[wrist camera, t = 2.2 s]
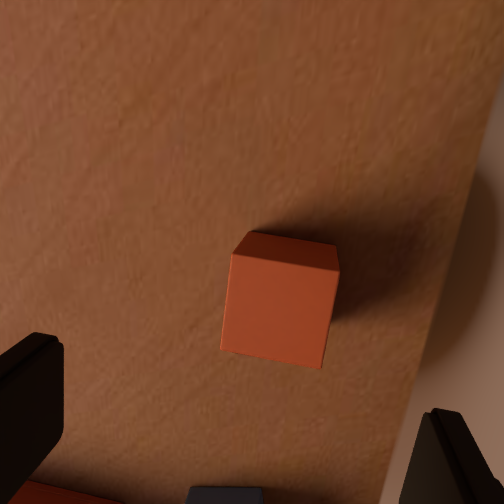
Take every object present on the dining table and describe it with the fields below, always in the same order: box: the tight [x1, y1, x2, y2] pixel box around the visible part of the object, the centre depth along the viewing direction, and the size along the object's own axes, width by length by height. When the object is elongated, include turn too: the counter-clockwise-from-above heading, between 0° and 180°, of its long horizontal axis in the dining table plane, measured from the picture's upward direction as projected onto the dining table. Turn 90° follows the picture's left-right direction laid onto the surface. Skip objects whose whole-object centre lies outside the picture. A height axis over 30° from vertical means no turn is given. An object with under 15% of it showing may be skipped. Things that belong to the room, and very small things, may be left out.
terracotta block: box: [220, 231, 340, 369], centre depth 20 cm, size 4×4×4 cm
